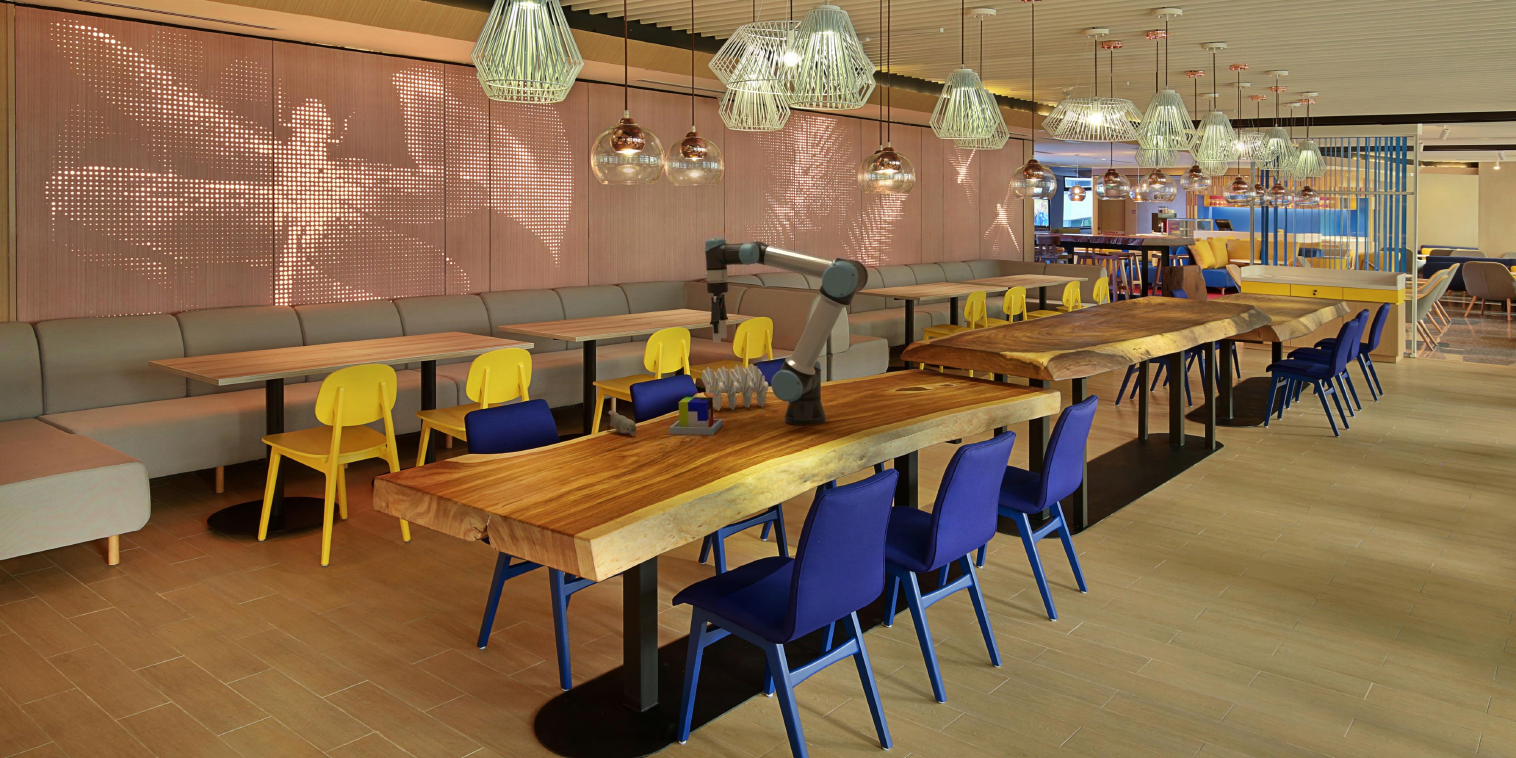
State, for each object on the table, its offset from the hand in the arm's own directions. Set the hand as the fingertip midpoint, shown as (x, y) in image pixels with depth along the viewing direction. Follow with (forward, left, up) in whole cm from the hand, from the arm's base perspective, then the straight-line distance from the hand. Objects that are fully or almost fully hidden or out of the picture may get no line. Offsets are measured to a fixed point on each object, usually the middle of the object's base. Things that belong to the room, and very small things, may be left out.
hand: (720, 340), depth 375 cm
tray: (+7, +11, -31) cm, 34 cm away
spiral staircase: (0, -29, -31) cm, 43 cm away
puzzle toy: (+7, +11, -30) cm, 33 cm away
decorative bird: (+32, +20, -32) cm, 49 cm away
